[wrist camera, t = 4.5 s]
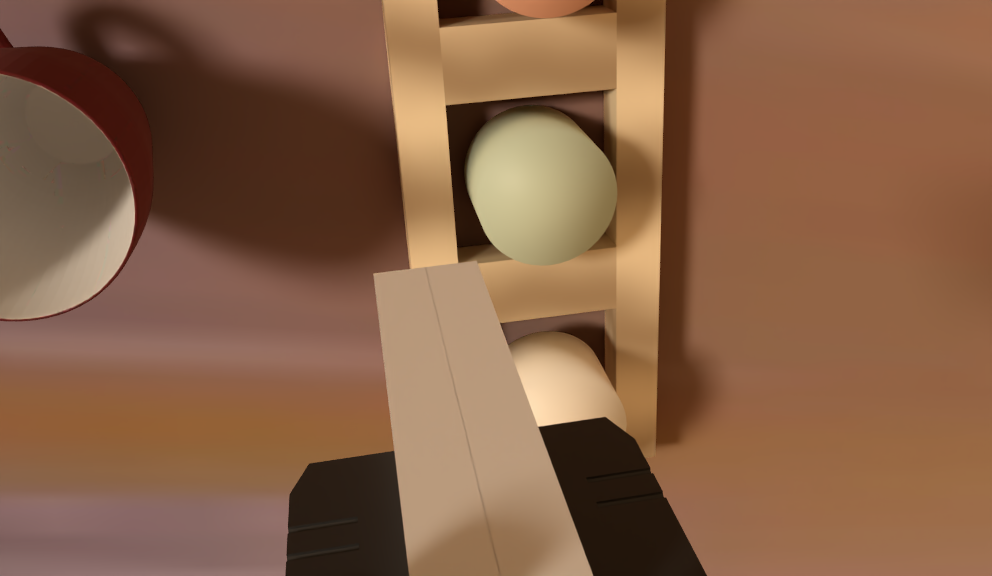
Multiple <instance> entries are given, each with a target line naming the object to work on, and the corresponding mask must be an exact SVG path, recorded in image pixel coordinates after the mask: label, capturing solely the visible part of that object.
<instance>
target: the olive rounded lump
mask: <svg viewBox="0 0 992 576" xmlns="http://www.w3.org/2000/svg"><path fill="white" fill-rule="evenodd" d="M464 178H465V185H466V188H467V192H468V194H469V196H470V199H471V201H472V204H473V206H474V208H475V211H476V213H477V215H478V218H479V220H480V223H481V225H482V227H483V230H484V232H485V234H486V235H487V237H488V238H489V240H490V241H491V242H492V244H493V245H494V246H495V247H496V248H497V249H498V250H499V251H501V252H502V253H503V254H505V255H506V256H508V257H510V258H512V259H514V260H516V261H519V262H522V263H525V264H530V265H540V266H544V265H554V264H559V263H562V262H566V261H569V260H571V259H573V258H575V257H577V256H579V255H581V254H582V253H584V252H585V251H587V250H588V249H589V248H591V247H592V246H593V245H594V244H595V243H596V242H597V241H598V240H599V239H600V237H601V236H602V235H603V234H604V232H605V231H606V229H607V228H608V226H609V224H610V222H611V220H612V217H613V214H614V211H615V207H616V202H617V183H616V178H615V174H614V171H613V168H612V166H611V164H610V162H609V160H608V159H607V157H606V156H605V155H604V153H603V152H602V151H601V150H600V149H599V148H598V147H597V146H596V145H595V143H594V142H593V141H592V140H591V139H590V138H589V137H588V136H587V135H586V134H585V133H584V132H583V130H582V129H581V128H580V127H579V126H578V125H577V124H576V123H575V122H574V121H573V120H572V119H571V118H569V117H568V116H567V115H565V114H563V113H562V112H560V111H558V110H555V109H553V108H550V107H546V106H540V105H524V106H518V107H514V108H511V109H508V110H506V111H503V112H501V113H499V114H498V115H496V116H494V117H493V118H492V119H490V120H489V121H488V122H487V123H486V124H485V125H484V126H483V127H482V128H481V129H480V130H479V131H478V133H477V134H476V135H475V137H474V138H473V140H472V142H471V144H470V146H469V149H468V151H467V155H466V158H465V165H464Z"/></svg>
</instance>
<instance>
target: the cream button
mask: <svg viewBox="0 0 992 576" xmlns="http://www.w3.org/2000/svg"><path fill="white" fill-rule="evenodd" d="M508 347H509V349H510V352H511V355H512V358H513V360H514V363H515V366H516V368H517V371H518V374H519V376H520V379H521V382H522V385H523V387H524V390H525V393H526V395H527V398H528V401H529V404H530V406H531V409H532V412H533V414H534V417H535V420H536V422H537V425H538V427H540V426H546V425H553V424H560V423H567V422H573V421H580V420H587V419H594V418H600V417H606V418H608V419H609V420H610V421H612V422H613V423H614V424H616V425H617V426H618V427H620V428H621V429H622V430H624V431H625V432H626V426H627V422H626V414H625V410H624V407H623V405H622V403H621V401H620V399H619V397H618V395H617V393H616V391H615V390H614V388H613V386H612V384H611V382H610V380H609V378H608V377H607V375H606V373H605V371H604V369H603V367H602V365H601V364H600V362H599V360H598V358H597V356H596V355H595V353H594V351H593V350H592V349H591V348H590V347H589V346H588V345H587V344H586V343H585V342H583V341H582V340H580V339H579V338H577V337H575V336H573V335H570V334H567V333H563V332H557V331H544V332H537V333H532V334H529V335H526V336H523V337H521V338H519V339H517V340H515V341H514V342H512V343H510V344H509V345H508Z"/></svg>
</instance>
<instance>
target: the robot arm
mask: <svg viewBox="0 0 992 576" xmlns="http://www.w3.org/2000/svg"><path fill="white" fill-rule="evenodd" d="M373 275H374V283H375V291H376V300H377V308H378V317H379V325H380V334H381V342H382V350H383V359H384V367H385V376H386V384H387V393H388V401H389V410H390V418H391V426H392V435H393V443H394V451H391V452H384V453H378V454H371V455H364V456H358V457H351V458H344V459H337V460H331V461H324V462H317V463H311V464H309V465H308V466H307V468H306V470H305V471H304V473H303V474H302V476H301V477H300V479H299V481H298V482H297V484H296V485H295V487H294V488H293V490H292V492H291V493H290V497H289V517H288V531H289V534H288V537H287V562H286V576H707V575H706V573H705V571H704V569H703V567H702V565H701V564H700V562H699V560H698V558H697V556H696V554H695V552H694V550H693V548H692V546H691V544H690V543H689V541H688V539H687V537H686V535H685V533H684V531H683V529H682V527H681V525H680V524H679V522H678V520H677V518H676V516H675V514H674V512H673V510H672V508H671V506H670V505H669V503H668V501H667V499H666V498H664V497H663V491H662V489H661V487H660V485H659V484H658V482H657V480H656V478H655V476H654V474H653V473H651V471H650V466H649V465H648V463H647V461H646V459H645V457H644V455H643V453H642V451H641V449H640V447H639V445H638V444H637V442H636V440H635V438H633V437H632V436H630V435H629V434H628V433H626V432H625V431H624V430H622V429H621V428H620V427H618V426H617V425H616V424H614V423H613V422H612V421H610V420H609V419H608V418H606V417H600V418H594V419H587V420H580V421H573V422H567V423H560V424H553V425H546V426H540V427H538V425H537V422H536V420H535V417H534V414H533V412H532V409H531V406H530V404H529V401H528V398H527V395H526V393H525V390H524V387H523V385H522V382H521V379H520V376H519V374H518V371H517V368H516V366H515V363H514V360H513V358H512V355H511V352H510V349H509V347H508V344H507V341H506V339H505V336H504V333H503V331H502V328H501V325H500V322H499V320H498V317H497V314H496V312H495V309H494V306H493V303H492V301H491V298H490V295H489V293H488V290H487V287H486V285H485V282H484V279H483V276H482V274H481V271H480V268H479V266H478V263H477V261H471V262H463V263H455V264H447V265H439V266H431V267H423V268H415V269H407V270H399V271H391V272H382V273H374V274H373Z"/></svg>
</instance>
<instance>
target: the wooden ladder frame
mask: <svg viewBox="0 0 992 576" xmlns="http://www.w3.org/2000/svg"><path fill="white" fill-rule="evenodd" d="M382 9H383V19H384V29H385V38H386V48H387V57H388V67H389V76H390V86H391V95H392V105H393V114H394V124H395V133H396V143H397V152H398V162H399V171H400V181H401V190H402V200H403V209H404V219H405V229H406V238H407V248H408V257H409V267H410V269H415V268H423V267H431V266H439V265H447V264H455V263H463V262H471V261H477V263H478V266H479V268H480V271H481V274H482V276H483V279H484V282H485V285H486V287H487V290H488V293H489V295H490V298H491V301H492V303H493V306H494V309H495V312H496V314H497V317H498V320H499V322H500V323H505V322H512V321H520V320H528V319H536V318H544V317H552V316H560V315H568V314H575V313H583V312H591V311H599V310H605V373H606V375H607V377H608V378H609V380H610V382H611V384H612V386H613V388H614V390H615V391H616V393H617V395H618V397H619V399H620V401H621V403H622V405H623V407H624V410H625V414H626V422H627V426H626V433H628V434H629V435H630V436H632V437H633V438H635V440H636V442H637V444H638V445H639V447H640V449H641V451H642V453H643V455H644V457H645V458H648V457H655V456H656V413H657V369H658V326H659V282H660V239H661V196H662V152H663V109H664V65H665V22H666V0H603V5H599V6H587V7H584V8H582V9H580V10H578V11H576V12H574V13H571V14H568V15H565V16H561V17H555V18H534V17H528V16H525V15H521V14H518V13H505V14H493V15H481V16H469V17H458V18H446V19H439V18H438V6H437V0H382ZM598 90H603V92H604V155H605V156H606V157H607V159H608V160H609V162H610V164H611V166H612V168H613V171H614V174H615V178H616V183H617V202H616V207H615V211H614V214H613V217H612V220H611V222H610V224H609V226H608V228H607V229H606V231H605V232H604V234H603V235H602V236H601V237H600V239H599V240H598V241H597V242H596V243H595V244H594V245H593V246H592V247H591V248H589V249H588V250H587V251H585V252H584V253H582V254H581V255H579V256H577V257H575V258H573V259H571V260H569V261H566V262H562V263H559V264H554V265H544V266H540V265H530V264H525V263H522V262H519V261H516V260H514V259H512V258H510V257H508V256H506V255H505V254H503V253H502V252H501V251H499V250H498V249H497V248H496V247H495V246H494V245H493V244H485V245H477V246H468V247H460V248H457V243H456V231H455V218H454V206H453V193H452V181H451V168H450V156H449V143H448V131H447V118H446V106H445V105H453V104H463V103H474V102H484V101H495V100H505V99H515V98H526V97H536V96H546V95H557V94H567V93H577V92H588V91H598Z"/></svg>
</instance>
